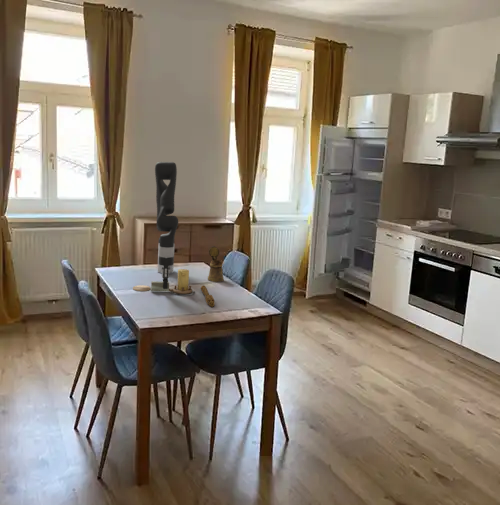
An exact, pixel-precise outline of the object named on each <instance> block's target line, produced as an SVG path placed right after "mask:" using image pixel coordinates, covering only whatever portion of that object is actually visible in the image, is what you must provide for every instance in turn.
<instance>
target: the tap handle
mask: <svg viewBox="0 0 500 505" xmlns="http://www.w3.org/2000/svg"><path fill="white" fill-rule="evenodd" d="M200 291H201V293H202V294H203V295H204V298H205V299H204V300H205V303H206V304H207V306H209V307H210V308H213V307H214V306H215V299H214V297H213V294H210V293H209V291H208V288H207V286H206V285H201V287H200Z"/></svg>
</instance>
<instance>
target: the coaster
mask: <svg viewBox="0 0 500 505" xmlns="http://www.w3.org/2000/svg"><path fill="white" fill-rule="evenodd" d="M132 290H133V291H137V292H147V291H150V290H151V287H150V286H149V285H146V284H145V285H143V284H141V285H135V286H133V287H132Z"/></svg>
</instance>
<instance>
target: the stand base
mask: <svg viewBox="0 0 500 505" xmlns="http://www.w3.org/2000/svg"><path fill="white" fill-rule="evenodd" d="M169 294H171V295H173V296H179V297H190V296H193V295H195V294H196V291H195V290H192V293H189V294H178V293H174V292H170V291H169Z"/></svg>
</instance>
